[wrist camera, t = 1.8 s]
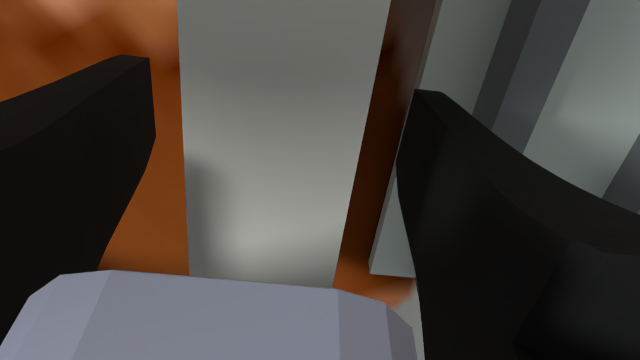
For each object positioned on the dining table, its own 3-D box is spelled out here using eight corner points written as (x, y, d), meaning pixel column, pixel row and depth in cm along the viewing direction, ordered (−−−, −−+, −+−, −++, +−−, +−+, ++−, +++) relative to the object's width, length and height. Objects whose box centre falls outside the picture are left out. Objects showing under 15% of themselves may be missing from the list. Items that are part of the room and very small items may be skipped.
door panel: (237, 203, 17) (195, 409, 11) (249, -162, 11) (171, -114, 5) (310, 210, 17) (305, 416, 11) (363, -145, 11) (407, -80, 5)
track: (368, 261, 18) (372, 308, 16) (540, -406, 8) (594, -455, 7) (609, 282, 19) (637, 330, 17) (1023, -314, 9) (1182, -339, 7)
